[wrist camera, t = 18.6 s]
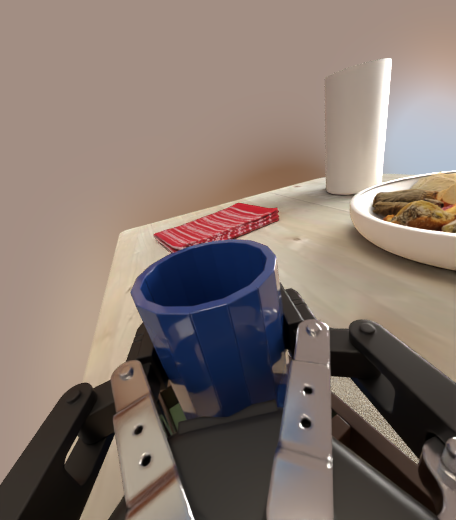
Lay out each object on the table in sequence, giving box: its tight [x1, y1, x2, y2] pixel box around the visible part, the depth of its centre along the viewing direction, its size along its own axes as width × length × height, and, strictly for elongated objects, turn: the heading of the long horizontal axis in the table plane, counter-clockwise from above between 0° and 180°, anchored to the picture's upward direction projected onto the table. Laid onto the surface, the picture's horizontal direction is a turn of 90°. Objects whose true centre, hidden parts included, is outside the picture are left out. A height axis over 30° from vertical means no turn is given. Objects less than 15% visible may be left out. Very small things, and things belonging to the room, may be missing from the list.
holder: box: [158, 355, 436, 515], centre depth 11 cm, size 9×17×3 cm, turn 31°
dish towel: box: [154, 203, 279, 253], centre depth 51 cm, size 17×24×3 cm
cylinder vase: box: [325, 58, 392, 195], centre depth 56 cm, size 12×12×25 cm
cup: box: [131, 239, 290, 420], centre depth 12 cm, size 6×6×10 cm
